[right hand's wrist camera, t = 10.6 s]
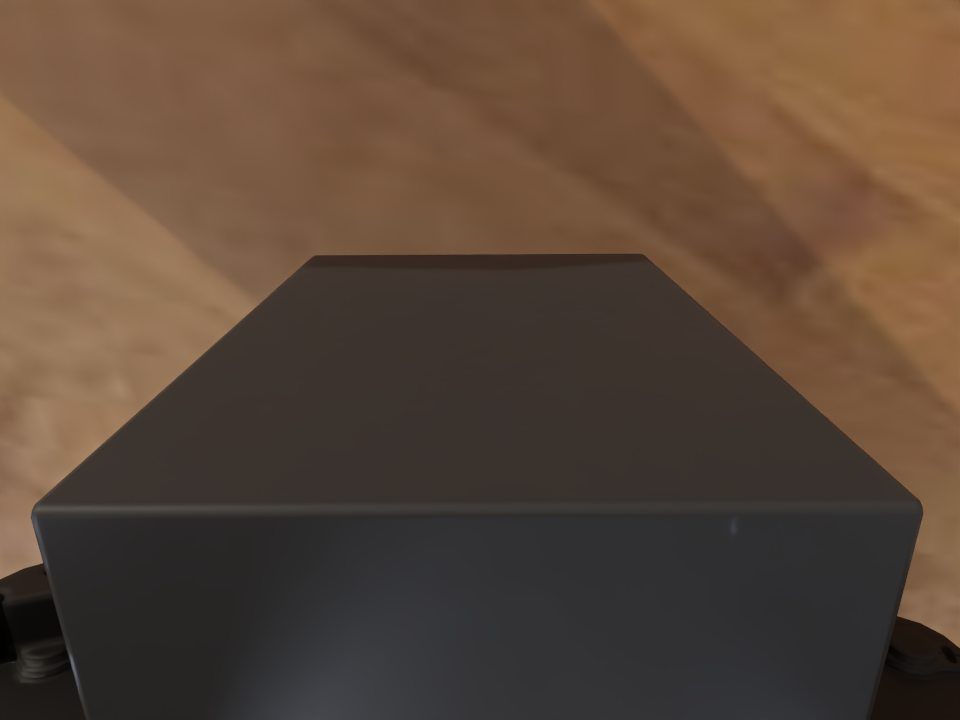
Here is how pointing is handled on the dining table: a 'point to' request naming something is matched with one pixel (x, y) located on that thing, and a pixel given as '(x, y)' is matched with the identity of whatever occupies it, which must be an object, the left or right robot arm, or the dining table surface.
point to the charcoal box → (478, 513)
